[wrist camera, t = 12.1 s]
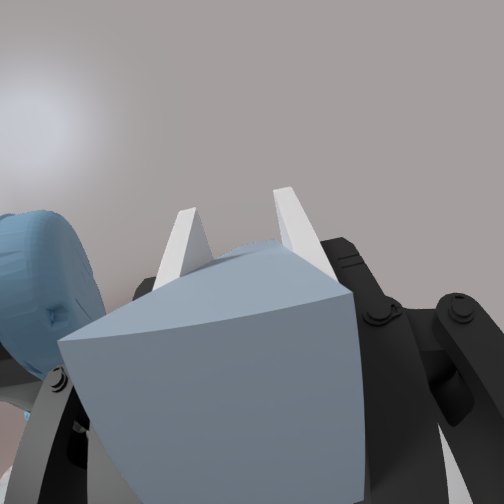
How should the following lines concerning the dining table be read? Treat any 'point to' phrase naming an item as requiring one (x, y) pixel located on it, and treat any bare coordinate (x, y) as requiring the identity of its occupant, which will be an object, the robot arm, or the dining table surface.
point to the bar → (230, 384)
